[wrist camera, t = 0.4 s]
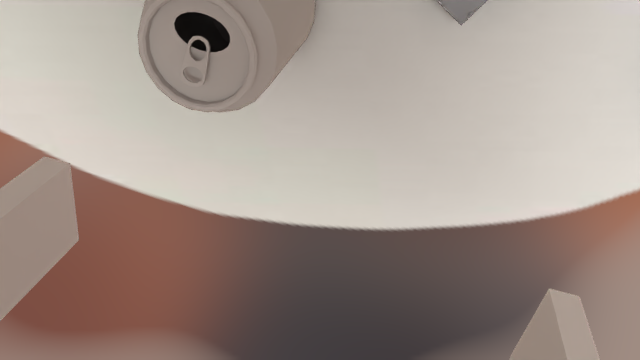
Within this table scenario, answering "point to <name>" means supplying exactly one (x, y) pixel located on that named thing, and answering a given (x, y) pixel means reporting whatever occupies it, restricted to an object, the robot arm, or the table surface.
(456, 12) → the tongs arm
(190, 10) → the can
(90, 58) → the table surface
